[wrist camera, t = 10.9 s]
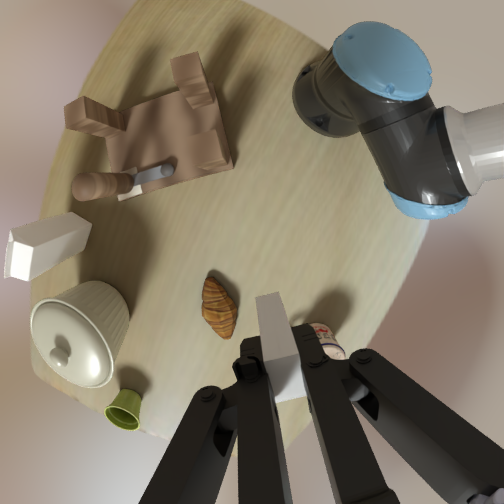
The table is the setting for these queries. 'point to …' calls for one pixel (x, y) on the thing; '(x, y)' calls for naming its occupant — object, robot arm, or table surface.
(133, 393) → the plant pot
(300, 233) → the table surface
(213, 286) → the croissant
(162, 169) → the hinged leg
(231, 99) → the table surface
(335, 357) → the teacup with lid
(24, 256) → the milk
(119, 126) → the stool seat
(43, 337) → the canister
